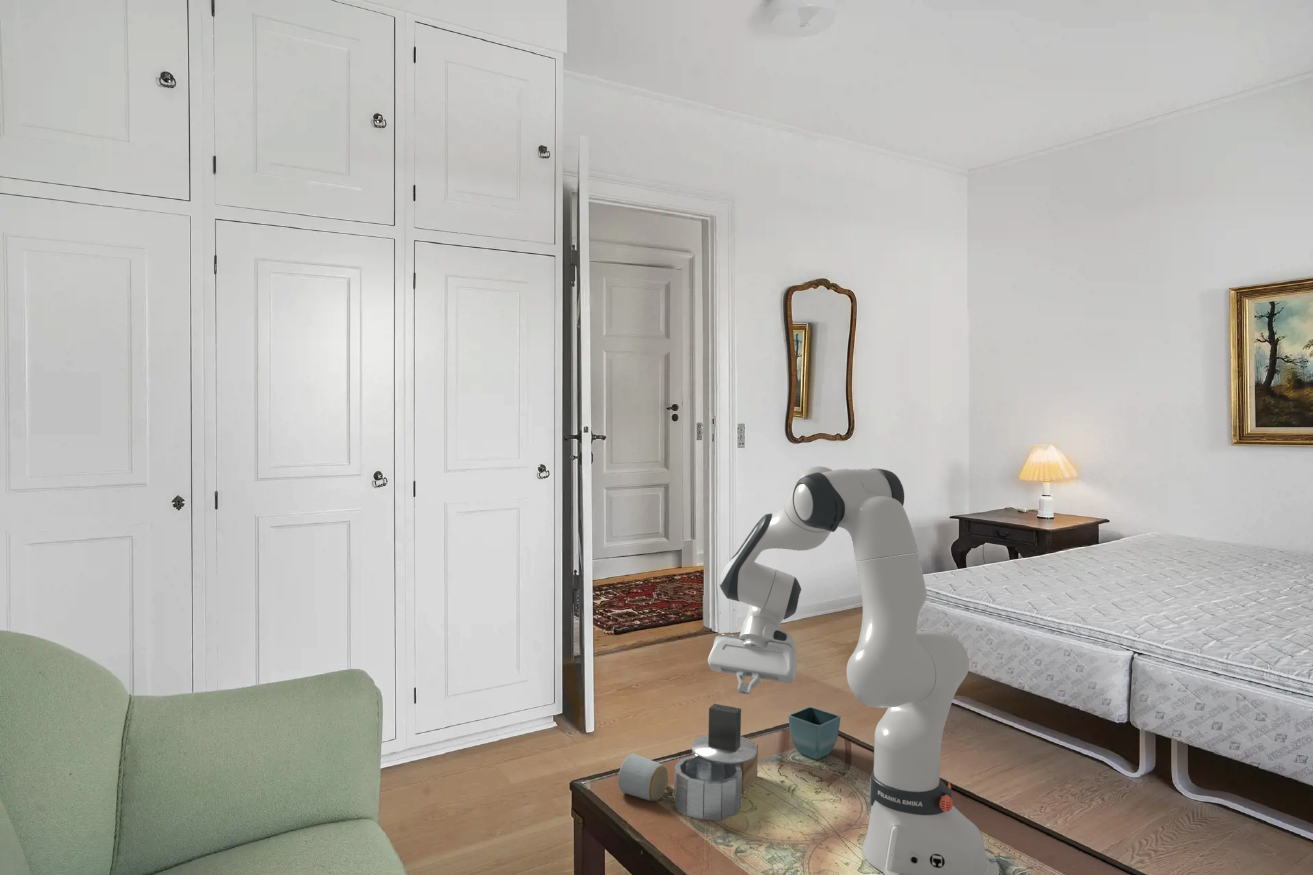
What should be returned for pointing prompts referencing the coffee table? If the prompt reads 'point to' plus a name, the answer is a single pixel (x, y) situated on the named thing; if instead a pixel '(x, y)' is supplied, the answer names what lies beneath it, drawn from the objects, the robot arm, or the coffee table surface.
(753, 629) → the robot arm
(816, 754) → the flower pot
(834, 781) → the coffee table surface
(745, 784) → the tan block
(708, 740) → the lid
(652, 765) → the ceramic mug
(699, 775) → the pot
